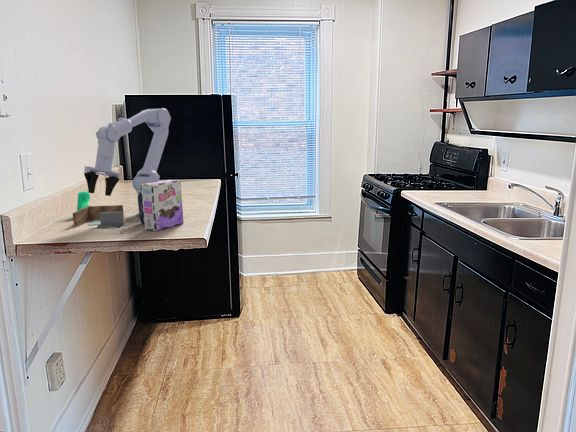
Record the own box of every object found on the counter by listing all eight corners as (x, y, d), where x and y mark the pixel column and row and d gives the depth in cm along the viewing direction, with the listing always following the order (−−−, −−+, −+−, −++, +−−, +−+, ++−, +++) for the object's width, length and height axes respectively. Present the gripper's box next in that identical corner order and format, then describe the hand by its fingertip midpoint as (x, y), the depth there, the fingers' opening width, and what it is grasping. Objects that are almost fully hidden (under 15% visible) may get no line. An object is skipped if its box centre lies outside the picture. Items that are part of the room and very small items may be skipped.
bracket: (123, 224, 167) (122, 211, 166) (119, 227, 163) (118, 214, 162) (102, 225, 167) (100, 212, 166) (97, 228, 162) (95, 215, 161)
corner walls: (124, 217, 179) (122, 204, 178) (112, 225, 166) (111, 211, 165) (88, 218, 179) (86, 206, 177) (74, 227, 165) (72, 213, 164)
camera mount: (97, 218, 180) (94, 193, 178) (77, 219, 179) (74, 194, 177) (105, 212, 192) (102, 188, 189) (86, 213, 191) (83, 189, 188)
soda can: (139, 222, 170) (136, 191, 168) (157, 220, 173) (155, 189, 170) (141, 226, 164) (138, 193, 161) (160, 224, 167) (157, 192, 164)
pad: (102, 224, 168) (102, 224, 167) (87, 225, 167) (87, 224, 167) (109, 219, 176) (109, 219, 176) (95, 220, 176) (95, 219, 176)
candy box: (155, 231, 155) (151, 184, 151) (144, 230, 158) (139, 183, 154) (184, 223, 166) (181, 179, 163) (173, 222, 169) (169, 179, 166)
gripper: (96, 154, 158) (90, 192, 158) (127, 162, 171) (122, 197, 171) (82, 153, 161) (77, 191, 161) (114, 161, 174) (109, 196, 174)
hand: (99, 194), depth 166 cm, fingers open, 7 cm apart
